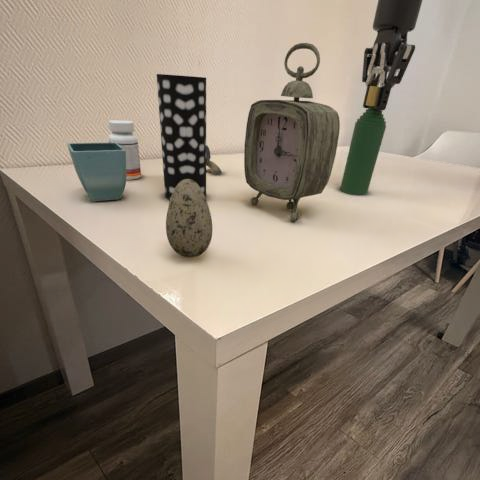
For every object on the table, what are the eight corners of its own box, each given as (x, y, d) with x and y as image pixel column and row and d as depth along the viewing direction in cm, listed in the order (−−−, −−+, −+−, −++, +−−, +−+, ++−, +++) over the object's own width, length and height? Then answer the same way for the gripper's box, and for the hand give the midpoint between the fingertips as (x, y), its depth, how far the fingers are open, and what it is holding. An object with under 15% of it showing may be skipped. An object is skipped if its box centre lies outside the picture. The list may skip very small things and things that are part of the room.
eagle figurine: (179, 166, 85) (207, 165, 80) (185, 139, 85) (213, 136, 80) (198, 180, 92) (224, 179, 87) (203, 154, 91) (230, 152, 87)
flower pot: (77, 193, 66) (66, 142, 60) (123, 190, 69) (116, 141, 64) (83, 206, 59) (71, 151, 54) (133, 202, 63) (126, 149, 58)
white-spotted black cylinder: (214, 196, 69) (215, 78, 58) (189, 205, 63) (185, 75, 52) (182, 189, 72) (178, 75, 61) (156, 197, 66) (145, 73, 55)
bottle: (350, 185, 83) (373, 90, 71) (372, 192, 80) (401, 93, 67) (334, 189, 80) (356, 90, 68) (357, 196, 76) (384, 93, 64)
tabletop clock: (241, 204, 66) (250, 40, 51) (273, 198, 71) (290, 47, 56) (295, 227, 57) (325, 37, 43) (327, 218, 62) (364, 46, 48)
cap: (375, 104, 71) (379, 86, 69) (389, 107, 68) (395, 88, 66) (361, 104, 70) (365, 85, 68) (375, 107, 67) (380, 87, 65)
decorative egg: (191, 244, 49) (189, 171, 43) (221, 257, 46) (223, 180, 40) (159, 255, 45) (151, 177, 39) (188, 270, 42) (185, 188, 36)
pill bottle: (115, 174, 80) (106, 119, 73) (141, 174, 81) (135, 120, 75) (113, 180, 75) (104, 122, 68) (141, 180, 76) (135, 123, 70)
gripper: (447, -10, 54) (409, 113, 65) (396, 4, 66) (371, 107, 76) (407, -15, 53) (375, 111, 63) (362, 0, 64) (341, 105, 74)
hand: (373, 108), depth 69 cm, fingers closed on cap, 4 cm apart
